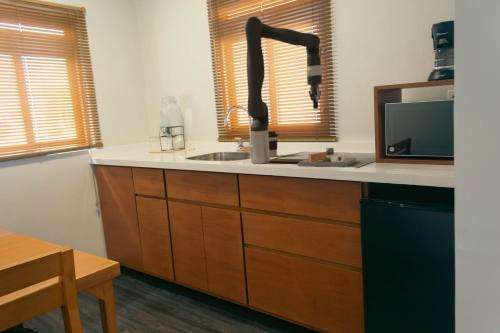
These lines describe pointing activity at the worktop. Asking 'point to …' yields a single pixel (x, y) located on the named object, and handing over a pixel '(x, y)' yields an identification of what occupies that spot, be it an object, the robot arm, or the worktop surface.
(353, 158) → the stand base
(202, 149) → the worktop surface
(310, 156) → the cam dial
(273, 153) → the coffee cup
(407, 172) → the worktop surface
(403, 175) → the worktop surface
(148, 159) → the worktop surface
